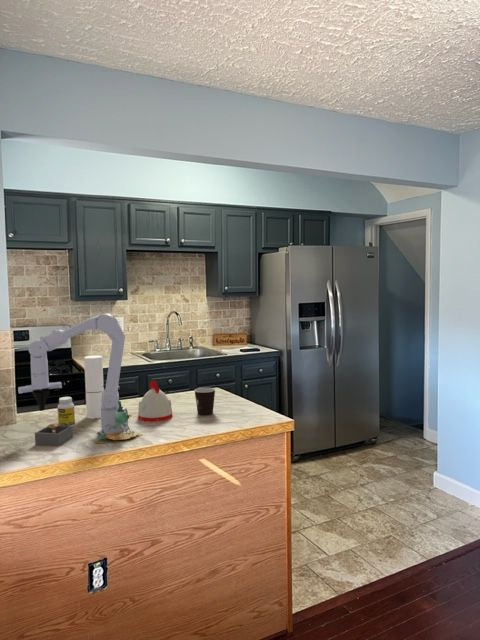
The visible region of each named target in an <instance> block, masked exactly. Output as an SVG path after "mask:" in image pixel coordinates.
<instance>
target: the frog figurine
mask: <svg viewBox="0 0 480 640" xmlns="http://www.w3.org/2000/svg"><path fill="white" fill-rule="evenodd" d="M118 405H119V409H118V410H117V412H116V414H115V417H114V419H115V421H116V423H118V425H119V424H122V425H123V426H124V423H125V422H127V420H128V421H129V419H130V417H132V414H129V413H128V412H127V411H128V410H126V411H124V409H122V408H124V407H123V405H122V401H121V400H119V401H118ZM107 425H108V424H107ZM107 425H106V426H107ZM116 425H117V424H116ZM116 425H115V426H116ZM106 426H105V427H106ZM109 426H111V425H109ZM115 426H114V427H113V426H112V427H110V428H114V429H116V428H117V427H118V426H117V427H115ZM119 426H120V425H119ZM125 426H127V425H125ZM125 426H124V427H125ZM120 427H121V426H120ZM110 428H109V430H110ZM121 429H122V428H121ZM125 429H126V428H125ZM122 430H124V429H122ZM102 431H103V429H102ZM141 436H142V437H143V436H144V434H143V433H141V432H136V431H134V430H132V431H131V430H130V427H129V425H128V430H126V431H121V432H116V433H115V432H111V433H108V434H106V433H104V431H103V432H102V433H99V436H98V438H97V440H96V441H95V442H94V444H95V445H96V444H97V445H101V444H106V443H109V440H112V441H122V440H123V441H124V440H129V439H133V438H137V437H141ZM105 438H106V439H109V440H105Z"/></svg>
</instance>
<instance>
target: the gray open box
mask: <svg viewBox="0 0 480 640" xmlns="http://www.w3.org/2000/svg"><path fill="white" fill-rule="evenodd" d="M55 432H56V433H53V432H52V429H48V425H47V426H46V427H45V426H44V427H43V428H42V429H40V430H38V431H35V432H34V442H35V444H34V445H35V446H51V447H61V446H62V445H64V444H65V443H67V442H68V441H70V440H71V439H73V438H74V435H73V426H59V428H57V429H55Z"/></svg>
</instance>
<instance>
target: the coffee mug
mask: <svg viewBox="0 0 480 640" xmlns="http://www.w3.org/2000/svg"><path fill="white" fill-rule="evenodd" d="M194 394H195V395H194V396H195V403H196V404H195V405H196V410H197V411H196V412H197V415H199V416H205V417H206V416H211V415H213V413H214V407H215V405H214V404H215V397H216V396H215V395H216V389H215V388H213V387H198V388H195V389H194Z"/></svg>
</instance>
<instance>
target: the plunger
mask: <svg viewBox="0 0 480 640" xmlns="http://www.w3.org/2000/svg"><path fill="white" fill-rule="evenodd" d="M47 426H48V429H52V432H53V433H56V432H55V429H57V428H59V424H58V422H56V423H50V424H48V425H47Z"/></svg>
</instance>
